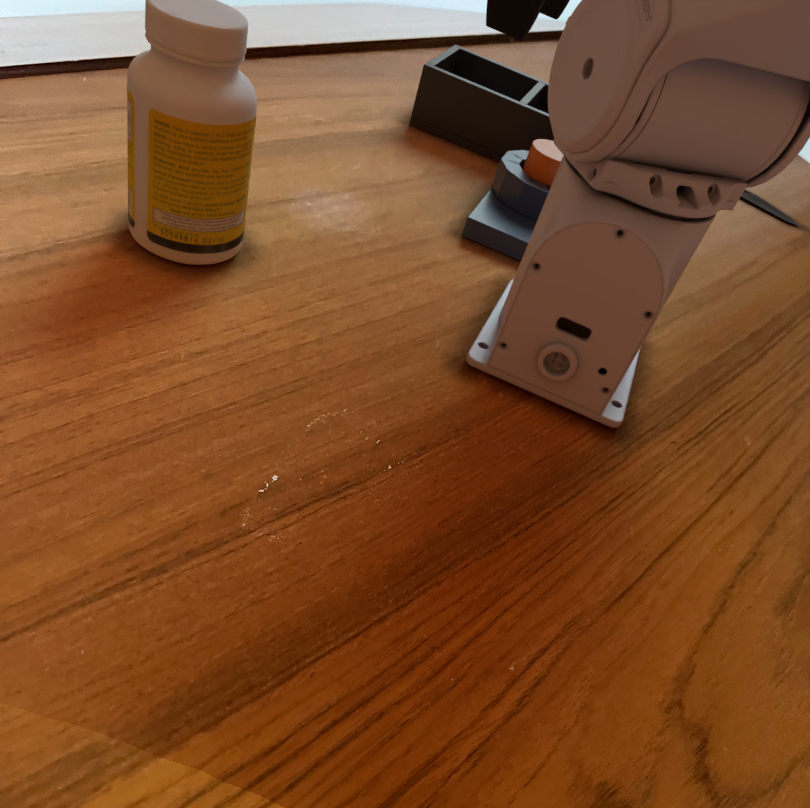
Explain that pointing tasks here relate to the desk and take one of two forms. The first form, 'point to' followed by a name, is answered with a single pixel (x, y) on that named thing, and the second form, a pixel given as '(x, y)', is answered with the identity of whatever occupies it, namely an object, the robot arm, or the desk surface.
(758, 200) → the knife
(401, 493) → the desk surface
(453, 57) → the rack
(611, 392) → the robot arm
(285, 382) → the desk surface
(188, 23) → the supplement bottle
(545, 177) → the button
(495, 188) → the block
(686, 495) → the desk surface
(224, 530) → the desk surface
